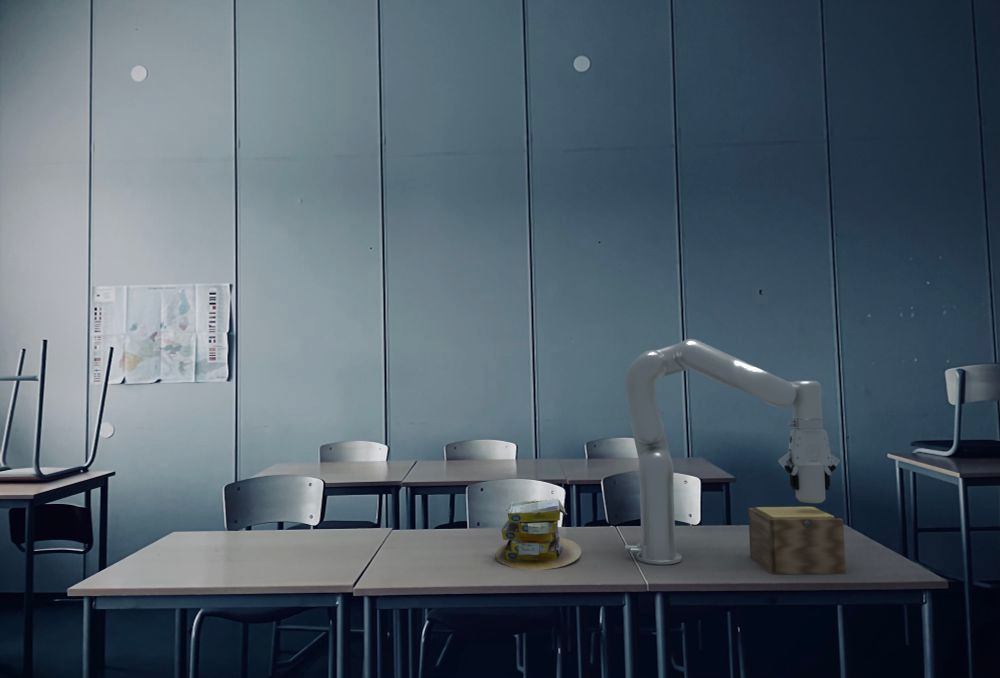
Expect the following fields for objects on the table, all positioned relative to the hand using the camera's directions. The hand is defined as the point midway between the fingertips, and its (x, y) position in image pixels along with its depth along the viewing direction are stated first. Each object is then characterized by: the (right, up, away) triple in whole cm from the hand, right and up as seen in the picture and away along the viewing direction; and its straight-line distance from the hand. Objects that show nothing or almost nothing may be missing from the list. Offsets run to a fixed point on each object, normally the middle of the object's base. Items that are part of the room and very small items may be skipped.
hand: (810, 488), depth 187 cm
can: (0, -4, 0) cm, 4 cm away
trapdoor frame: (-5, -21, -1) cm, 21 cm away
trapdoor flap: (-5, -7, 0) cm, 9 cm away
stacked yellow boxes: (-75, -23, +11) cm, 79 cm away
